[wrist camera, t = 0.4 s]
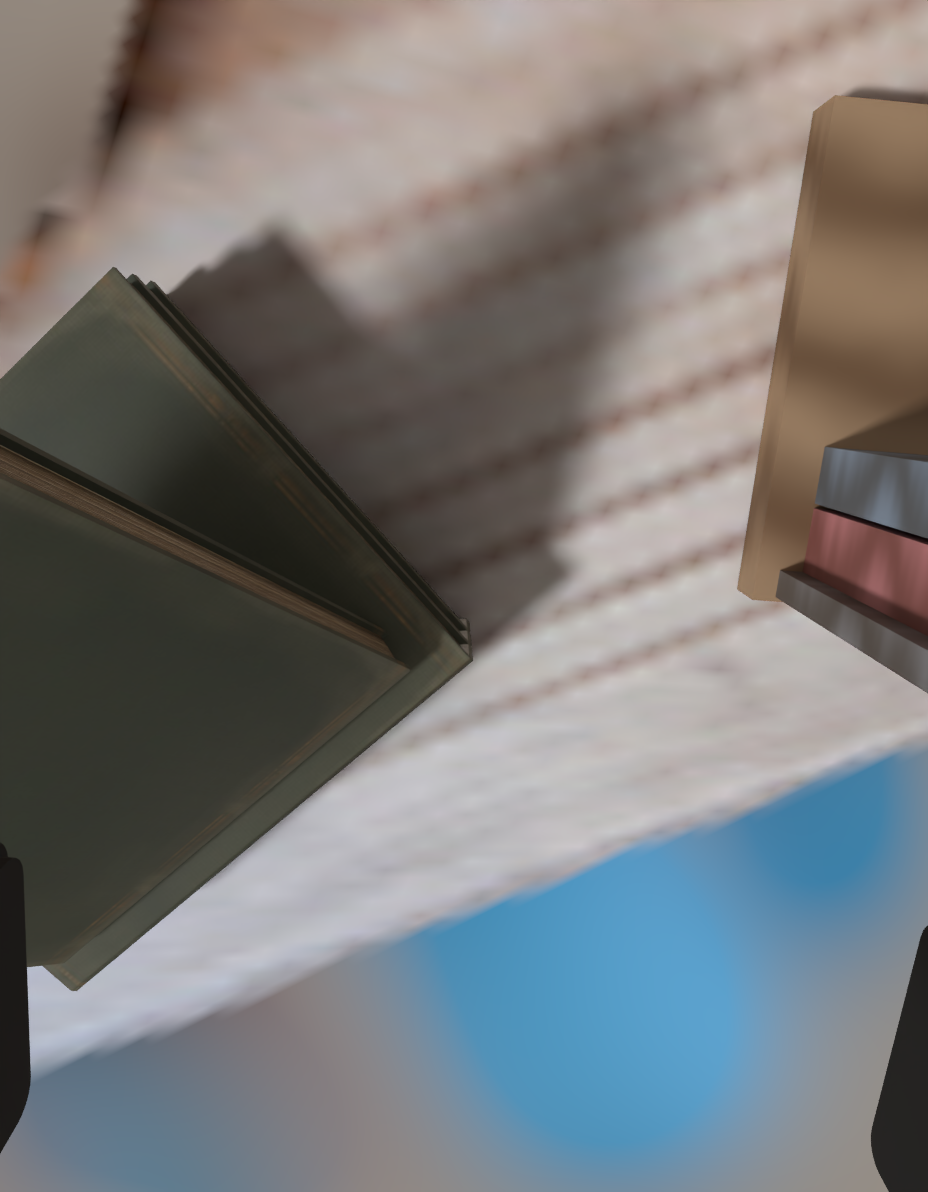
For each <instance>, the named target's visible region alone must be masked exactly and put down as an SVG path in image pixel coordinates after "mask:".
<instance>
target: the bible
mask: <svg viewBox="0 0 928 1192" xmlns="http://www.w3.org/2000/svg"><path fill="white" fill-rule="evenodd" d="M472 661H473V656H472V648H471V635H470V623H469V622H468V620H467V619H459V618H458V617H457V616H456V615H455V614H454V613H453V612H452V610H451V609H450V608H449V607H448V606H447V605H446V604H445V603H444V602H443V601H442V599H441V598H440V597H439V596H438V595H437V594H436V593H435V592H434V591H433V589H432V588H431V587H430V586H429V585H428V584H427V583H426V582H425V581H424V579H423V578H422V577H421V576H420V575H419V574H418V573H417V572H416V571H415V570H414V568H413V567H412V566H411V565H410V564H409V563H408V562H407V561H406V560H405V558H404V557H403V556H402V555H401V554H400V553H399V552H398V551H397V550H396V549H395V547H394V546H393V545H392V544H391V543H390V542H389V541H388V540H387V539H386V537H385V536H384V535H383V534H382V533H381V532H380V531H379V530H378V529H377V527H376V526H375V525H374V524H373V523H372V522H371V521H370V520H369V519H368V518H367V516H366V515H365V514H364V513H363V512H362V511H361V510H360V509H359V508H358V506H357V505H356V504H355V503H354V502H353V501H352V500H351V499H350V498H349V497H348V495H347V494H346V493H345V492H344V491H343V490H342V489H341V488H340V487H339V485H338V484H337V483H336V482H335V481H334V480H333V479H332V478H331V477H330V476H329V474H328V473H327V472H326V471H325V470H324V469H323V468H322V467H321V466H320V464H319V463H318V462H317V461H316V460H315V459H314V458H313V457H312V456H311V454H310V453H309V452H308V451H307V450H306V449H305V448H304V447H303V446H302V445H301V443H300V442H299V441H298V440H297V439H296V438H295V437H294V436H293V435H292V433H291V432H290V431H289V430H288V429H287V428H286V427H285V426H284V425H283V424H282V422H281V421H280V420H279V419H278V418H277V417H276V416H275V415H274V414H273V412H272V411H271V410H270V409H269V408H268V407H267V406H266V405H265V404H264V402H263V401H262V400H261V399H260V398H259V397H258V396H257V395H256V394H255V393H254V391H253V390H252V389H251V388H250V387H249V386H248V385H247V384H246V383H245V381H244V380H243V379H242V378H241V377H240V376H239V375H238V374H237V373H236V372H235V370H234V369H233V368H232V367H231V366H230V365H229V364H228V363H227V362H226V360H225V359H224V358H223V357H222V356H221V355H220V354H219V353H218V352H217V351H216V349H215V348H214V347H213V346H212V345H211V344H210V343H209V342H208V341H207V339H206V338H205V337H204V336H203V335H202V334H201V333H200V332H199V331H198V329H197V328H196V327H195V326H194V325H193V324H192V323H191V322H190V321H189V320H188V318H187V317H186V316H185V315H184V314H183V313H182V312H181V311H180V310H179V308H178V307H177V306H176V305H175V304H174V303H173V302H172V301H171V300H170V299H169V297H168V296H167V295H166V294H165V293H164V292H163V291H162V290H161V289H160V287H159V286H158V285H157V284H156V283H155V282H153V281H150V282H149V283H148V284H147V285H145V284H144V283H143V282H142V281H141V280H140V279H139V278H138V277H137V276H136V275H134V274H131V275H130V276H129V277H128V278H127V279H126V278H125V277H124V276H123V275H122V274H121V273H120V272H119V271H118V270H117V268H115V267H113V268H112V269H111V270H110V271H109V272H108V273H107V274H106V275H105V276H104V277H103V278H102V279H101V280H100V281H99V282H98V283H97V284H96V285H95V286H94V287H93V288H92V289H91V290H90V291H89V292H88V293H87V294H86V295H85V296H84V297H83V298H82V299H81V300H80V301H79V302H78V303H76V304H75V305H74V306H73V307H72V308H71V309H70V310H69V311H68V312H67V313H66V314H65V315H64V316H63V317H62V318H61V319H60V320H59V321H58V322H57V323H56V324H55V325H54V326H53V327H52V328H51V329H50V330H49V331H48V332H47V333H46V334H45V335H44V336H43V337H42V338H41V339H40V340H39V341H38V342H37V343H36V344H35V345H34V346H33V347H32V348H31V349H30V350H29V351H28V352H27V353H26V354H25V355H24V356H23V357H22V358H21V359H20V360H19V361H18V362H17V363H16V364H15V365H14V366H13V367H12V368H11V369H10V370H9V371H8V372H7V373H6V374H5V375H4V376H3V377H2V378H1V379H0V843H2V844H3V845H4V846H5V848H6V850H7V853H8V857H13V858H18V859H19V860H20V861H21V863H22V866H23V873H24V901H25V929H26V957H27V967H33V966H43V967H44V968H46V969H47V970H48V971H49V972H50V973H51V974H52V975H54V976H55V977H56V978H57V979H58V980H59V981H61V982H62V983H63V984H64V985H65V986H66V987H67V988H69V989H70V990H72V991H77V990H78V989H80V988H81V987H82V986H83V985H84V984H86V983H87V982H88V981H89V980H90V979H92V978H93V977H94V976H95V975H96V974H98V973H99V972H100V971H101V970H102V969H104V968H105V967H106V966H107V965H108V964H110V963H111V962H112V961H113V960H114V959H116V958H117V957H118V956H119V955H120V954H122V953H123V952H124V951H125V950H126V949H128V948H129V947H130V946H131V945H132V944H134V943H135V942H136V941H137V940H138V939H140V938H141V937H142V936H143V935H144V934H146V933H147V932H148V931H149V930H150V929H152V928H153V927H154V926H155V925H156V924H158V923H159V922H160V921H161V920H162V919H164V918H165V917H166V916H167V915H168V914H170V913H171V912H172V911H173V910H174V909H176V908H177V907H178V906H179V905H180V904H182V903H183V902H184V901H185V900H186V899H187V898H189V897H190V896H191V895H192V894H193V893H195V892H196V891H197V890H198V889H199V888H201V887H202V886H203V885H204V884H205V883H207V882H208V881H209V880H210V879H211V878H213V877H214V876H215V875H216V874H217V873H219V872H220V871H221V870H222V869H223V868H225V867H226V866H227V865H228V864H229V863H231V862H232V861H233V860H234V859H235V858H237V857H238V856H239V855H240V854H241V853H243V852H244V851H245V850H246V849H247V848H249V847H250V846H251V845H252V844H253V843H255V842H256V841H257V840H258V839H259V838H261V837H262V836H263V835H264V834H265V833H267V832H268V831H269V830H270V829H271V828H273V827H274V826H275V825H276V824H277V823H279V822H280V821H281V820H282V819H283V818H285V817H286V816H287V815H288V814H289V813H291V812H292V811H293V810H294V809H295V808H297V807H298V806H299V805H300V804H301V803H303V802H304V801H305V800H306V799H307V798H309V797H310V796H311V795H312V794H313V793H315V792H316V791H317V790H318V789H319V788H321V787H322V786H323V785H324V784H325V783H327V782H328V781H329V780H330V779H331V778H333V777H334V776H335V775H336V774H337V773H339V772H340V771H341V770H342V769H343V768H345V767H346V766H347V765H348V764H349V763H351V762H352V761H353V760H354V759H355V758H357V757H358V756H359V755H360V754H361V753H363V752H364V751H365V750H366V749H367V748H369V747H370V746H371V745H372V744H373V743H375V742H376V741H377V740H378V739H379V738H381V737H382V736H383V735H384V734H385V733H387V732H388V731H389V730H390V729H391V728H393V727H394V726H395V725H396V724H397V723H399V722H400V721H401V720H402V719H403V718H405V717H406V716H407V715H408V714H409V713H411V712H412V711H413V710H414V709H415V708H417V707H418V706H419V705H420V704H421V703H423V702H424V701H425V700H426V699H427V698H429V697H430V696H431V695H432V694H433V693H435V692H436V691H437V690H438V689H439V688H441V687H442V686H443V685H444V684H445V683H447V682H448V681H449V680H450V679H451V678H453V677H454V676H455V675H456V674H457V673H459V672H460V671H461V670H462V669H463V668H465V667H466V666H467V665H468V664H469V663H471V662H472Z"/></svg>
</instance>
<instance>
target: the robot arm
mask: <svg viewBox="0 0 928 1192" xmlns="http://www.w3.org/2000/svg"><path fill="white" fill-rule="evenodd" d="M30 1079H31V1071H30V1043H29V1014H28V986H27V957H26V929H25V901H24V873H23V866H22V863H21V861H20V860H19V859H18V858H13V857H8V853H7V850H6V848H5V846H4V845H3V844H2V843H0V1153H1V1151H2V1150H3V1147H4V1146H5V1144H6V1143H7V1141H8V1139H9V1137H10V1136H11V1134H12V1132H13V1131H14V1129H15V1127H16V1125H17V1124H18V1122H19V1120H20V1118H21V1116H22V1113H23V1110H24V1108H25V1105H26V1101H27V1098H28V1094H29V1088H30ZM871 1147H872V1153H873V1157H874V1161H875V1164H876V1167H877V1170H878V1172H879V1174H880V1176H881V1178H882V1179H883V1181H884V1183H885V1185H886V1187H887V1189H888V1191H889V1192H928V926H927V927H926V928H925V929H924V930H923V933H922V935H921V938H920V942H919V946H918V950H917V954H916V958H915V961H914V965H913V969H912V973H911V977H910V981H909V985H908V989H907V993H906V997H905V1001H904V1005H903V1008H902V1012H901V1017H900V1021H899V1024H898V1028H897V1032H896V1036H895V1040H894V1044H893V1048H892V1052H891V1056H890V1059H889V1063H888V1067H887V1071H886V1075H885V1079H884V1083H883V1087H882V1091H881V1095H880V1099H879V1103H878V1107H877V1110H876V1114H875V1118H874V1122H873V1126H872V1132H871Z"/></svg>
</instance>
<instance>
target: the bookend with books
mask: <svg viewBox="0 0 928 1192" xmlns="http://www.w3.org/2000/svg"><path fill="white" fill-rule="evenodd" d="M737 590H739V591H740V592H742V593H743V594H745V595H746V596H748V597H749V598H751V599H752V600H763V601H776V602H784V603H786V604H787V605H789V606H791V607H792V608H794V609H795V610H797V611H798V612H800V613H802V614H803V615H805V616H806V617H808V618H810V619H811V620H813V621H814V622H816V623H817V624H819V625H821V626H822V627H824V628H825V629H827V630H828V631H830V632H832V633H833V634H835V635H836V636H838V637H840V638H841V639H843V640H844V641H846V642H847V643H849V644H851V645H852V646H854V647H855V648H857V649H859V650H860V651H862V652H863V653H865V654H866V655H868V656H870V657H871V658H873V659H874V660H876V661H877V662H879V663H881V664H882V665H884V666H885V667H887V668H889V669H890V670H892V671H893V672H895V673H896V674H898V675H900V676H901V677H903V678H904V679H906V680H908V681H909V682H911V683H912V684H914V685H915V686H917V687H919V688H920V689H922V690H923V691H925V692H927V693H928V104H918V103H908V102H898V101H888V100H877V99H867V98H857V97H847V96H836V95H835V96H834V97H832V98H831V99H830V100H828V101H827V102H826V103H824V104H823V105H822V106H820V107H819V108H818V109H817V110H815V111H814V112H813V118H812V124H811V130H810V136H809V143H808V149H807V155H806V162H805V168H804V174H803V180H802V187H801V193H800V199H799V205H798V212H797V218H796V224H795V230H794V237H793V243H792V249H791V255H790V262H789V268H788V274H787V281H786V287H785V293H784V299H783V306H782V312H781V318H780V324H779V331H778V337H777V343H776V349H775V356H774V362H773V368H772V374H771V381H770V387H769V393H768V400H767V406H766V412H765V418H764V425H763V431H762V437H761V443H760V450H759V456H758V462H757V468H756V475H755V481H754V487H753V494H752V500H751V506H750V512H749V519H748V525H747V531H746V537H745V544H744V550H743V556H742V562H741V569H740V575H739V581H738V587H737Z"/></svg>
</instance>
